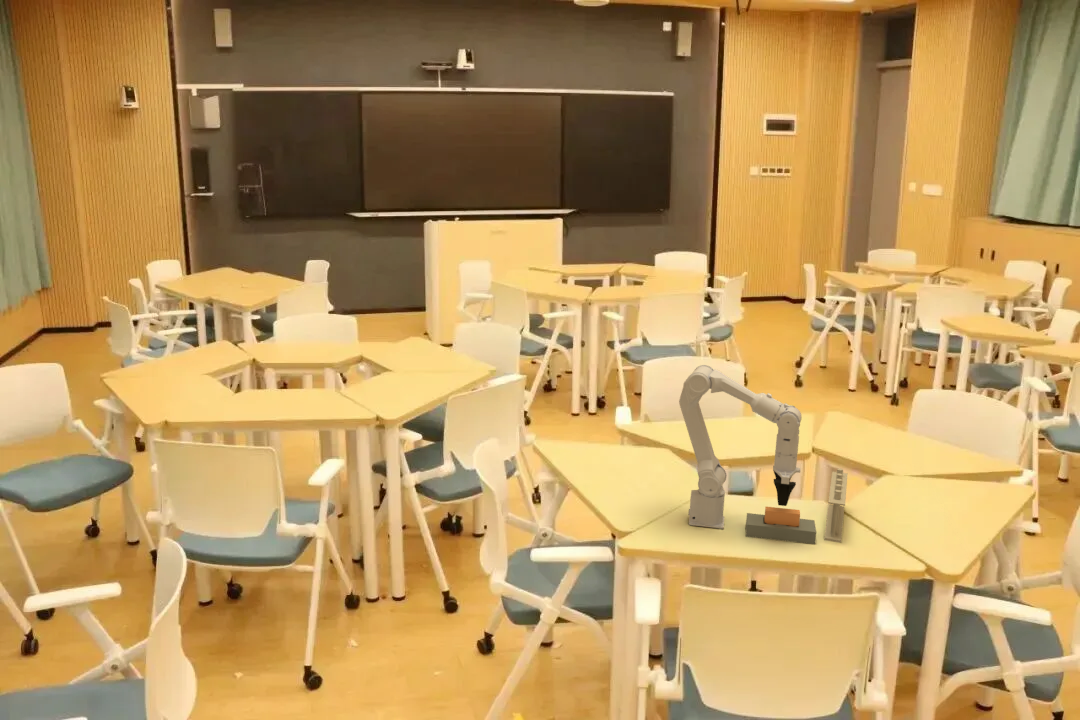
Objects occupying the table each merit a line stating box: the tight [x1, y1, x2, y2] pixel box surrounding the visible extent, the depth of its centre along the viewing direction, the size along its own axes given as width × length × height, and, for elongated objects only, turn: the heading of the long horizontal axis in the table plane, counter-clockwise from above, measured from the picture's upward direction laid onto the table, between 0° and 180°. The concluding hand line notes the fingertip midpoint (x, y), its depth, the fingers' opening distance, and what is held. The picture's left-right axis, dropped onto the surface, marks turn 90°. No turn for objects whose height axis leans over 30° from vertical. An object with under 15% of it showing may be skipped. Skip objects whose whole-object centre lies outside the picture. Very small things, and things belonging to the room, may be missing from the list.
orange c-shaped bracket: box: [764, 506, 801, 527], centre depth 247 cm, size 9×3×6 cm, turn 77°
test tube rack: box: [823, 467, 848, 544], centre depth 254 cm, size 25×4×13 cm, turn 160°
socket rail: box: [745, 512, 817, 545], centre depth 247 cm, size 18×8×4 cm, turn 77°
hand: (781, 499), depth 246 cm, fingers open, 7 cm apart
